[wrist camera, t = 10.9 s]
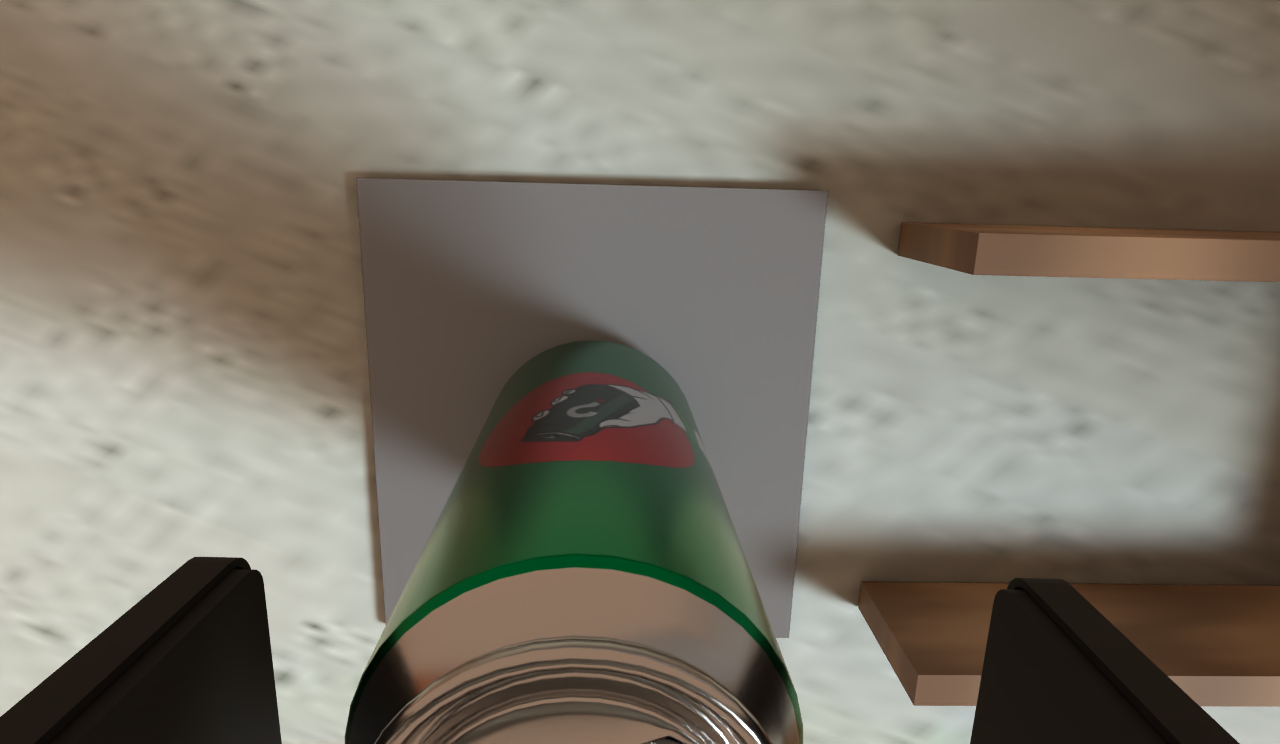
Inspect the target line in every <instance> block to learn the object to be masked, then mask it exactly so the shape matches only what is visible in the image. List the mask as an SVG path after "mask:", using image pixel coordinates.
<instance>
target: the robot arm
mask: <svg viewBox="0 0 1280 744" xmlns="http://www.w3.org/2000/svg"><path fill="white" fill-rule="evenodd" d="M0 744H282V743H281V734H280V725H279V716H278V707H277V698H276V689H275V680H274V671H273V662H272V653H271V644H270V636H269V627H268V618H267V609H266V600H265V591H264V582H263V578H262V575H261V573H260V572H259V571H257V570H251V568H250V565H249V564H248V562H247V561H246V560H245V559H243V558H226V557H194V558H192V559H190V560H189V561H187V562H186V563H185V564H184V565H182V566H181V567H180V568H179V569H178V570H176V571H175V572H174V573H173V574H172V575H170V576H169V577H168V578H167V579H166V580H164V581H163V582H162V583H161V584H160V585H158V586H157V587H156V588H155V589H154V590H152V591H151V592H150V593H149V594H148V595H146V596H145V597H144V598H143V599H142V600H140V601H139V602H138V603H137V604H136V605H134V606H133V607H132V608H131V609H130V610H128V611H127V612H126V613H125V614H124V615H122V616H121V617H120V618H119V619H118V620H116V621H115V622H114V623H113V624H112V625H110V626H109V627H108V628H107V629H106V630H104V631H103V632H102V633H101V634H100V635H98V636H97V637H96V638H95V639H93V640H92V641H91V642H90V643H89V644H87V645H86V646H85V647H84V648H83V649H81V650H80V651H79V652H78V653H77V654H75V655H74V656H73V657H72V658H71V659H69V660H68V661H67V662H66V663H65V664H63V665H62V666H61V667H60V668H59V669H57V670H56V671H55V672H54V673H53V674H51V675H50V676H49V677H48V678H47V679H45V680H44V681H43V682H42V683H41V684H39V685H38V686H37V687H36V688H35V689H33V690H32V691H31V692H30V693H29V694H27V695H26V696H25V697H24V698H23V699H21V700H20V701H19V702H18V703H17V704H15V705H14V706H13V707H12V708H11V709H9V710H8V711H7V712H6V713H5V714H3V715H2V716H1V717H0ZM970 744H1239V743H1238V742H1237V741H1236V740H1235V739H1234V738H1233V737H1232V736H1231V735H1230V734H1229V733H1228V732H1227V731H1225V730H1224V729H1223V728H1222V727H1221V726H1220V725H1219V724H1218V723H1217V722H1216V721H1215V720H1214V719H1213V718H1212V717H1211V716H1210V715H1208V714H1207V713H1206V712H1205V711H1204V710H1203V709H1202V708H1201V707H1200V706H1199V705H1198V704H1197V703H1196V702H1195V701H1194V700H1193V699H1191V698H1190V697H1189V696H1188V695H1187V694H1186V693H1185V692H1184V691H1183V690H1182V689H1181V688H1180V687H1179V686H1178V685H1177V684H1176V683H1174V682H1173V681H1172V680H1171V679H1170V678H1169V677H1168V676H1167V675H1166V674H1165V673H1164V672H1163V671H1162V670H1161V669H1160V668H1158V667H1157V666H1156V665H1155V664H1154V663H1153V662H1152V661H1151V660H1150V659H1149V658H1148V657H1147V656H1146V655H1145V654H1144V653H1143V652H1141V651H1140V650H1139V649H1138V648H1137V647H1136V646H1135V645H1134V644H1133V643H1132V642H1131V641H1130V640H1129V639H1128V638H1127V637H1126V636H1124V635H1123V634H1122V633H1121V632H1120V631H1119V630H1118V629H1117V628H1116V627H1115V626H1114V625H1113V624H1112V623H1111V622H1110V621H1109V620H1107V619H1106V618H1105V617H1104V616H1103V615H1102V614H1101V613H1100V612H1099V611H1098V610H1097V609H1096V608H1095V607H1094V606H1093V605H1091V604H1090V603H1089V602H1088V601H1087V600H1086V599H1085V598H1084V597H1083V596H1082V595H1081V594H1080V593H1079V592H1078V591H1077V590H1076V589H1074V588H1073V587H1072V586H1071V585H1070V584H1069V583H1068V582H1066V581H1064V580H1061V579H1033V578H1015V579H1013V580H1012V581H1011V582H1010V584H1009V585H1008V587H1007V589H1001V590H999V591H998V592H997V593H996V595H995V598H994V602H993V608H992V614H991V620H990V626H989V632H988V638H987V644H986V651H985V657H984V663H983V669H982V675H981V681H980V687H979V693H978V699H977V705H976V711H975V718H974V724H973V730H972V736H971V742H970Z"/></svg>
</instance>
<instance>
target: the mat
mask: <svg viewBox="0 0 1280 744" xmlns="http://www.w3.org/2000/svg"><path fill="white" fill-rule="evenodd" d="M356 181H357V196H358V211H359V227H360V242H361V257H362V272H363V287H364V302H365V318H366V333H367V348H368V363H369V378H370V393H371V408H372V424H373V439H374V454H375V469H376V484H377V499H378V515H379V530H380V545H381V560H382V575H383V590H384V605H385V621H386V625H387V623H388V621H389V619H390V617H391V615H392V613H393V610H394V608H395V606H396V604H397V602H398V600H399V598H400V596H401V594H402V592H403V590H404V588H405V586H406V584H407V582H408V580H409V578H410V576H411V574H412V571H413V569H414V567H415V565H416V563H417V561H418V559H419V557H420V555H421V553H422V551H423V549H424V547H425V545H426V543H427V541H428V539H429V537H430V535H431V532H432V530H433V528H434V526H435V524H436V522H437V520H438V518H439V516H440V514H441V512H442V510H443V508H444V506H445V504H446V502H447V500H448V498H449V496H450V493H451V491H452V489H453V487H454V485H455V483H456V481H457V479H458V477H459V475H460V473H461V471H462V469H463V467H464V465H465V463H466V461H467V459H468V457H469V455H470V452H471V450H472V448H473V446H474V444H475V442H476V440H477V438H478V436H479V434H480V432H481V430H482V428H483V426H484V424H485V422H486V420H487V418H488V416H489V413H490V411H491V409H492V407H493V405H494V403H495V401H496V399H497V397H498V395H499V394H500V392H501V390H502V389H503V387H504V385H505V384H506V382H507V381H508V380H509V379H510V378H511V376H512V375H513V374H514V373H515V372H516V371H517V370H518V369H519V368H520V367H521V366H523V365H524V364H525V363H526V362H527V361H528V360H530V359H532V358H533V357H535V356H537V355H538V354H540V353H542V352H543V351H546V350H548V349H551V348H553V347H556V346H558V345H562V344H566V343H570V342H575V341H587V340H596V341H608V342H613V343H617V344H621V345H625V346H628V347H630V348H633V349H635V350H637V351H640V352H642V353H643V354H645V355H647V356H648V357H650V358H652V359H653V360H655V361H656V362H657V363H658V364H659V365H661V366H662V367H663V368H664V369H665V370H666V371H667V372H668V373H669V374H670V375H671V376H672V377H673V379H674V380H675V381H676V382H677V384H678V385H679V387H680V389H681V390H682V392H683V393H684V395H685V397H686V400H687V402H688V405H689V407H690V410H691V412H692V415H693V418H694V420H695V423H696V426H697V428H698V431H699V434H700V436H701V439H702V442H703V444H704V447H705V450H706V452H707V455H708V458H709V460H710V463H711V466H712V469H713V471H714V474H715V477H716V479H717V482H718V485H719V487H720V490H721V493H722V495H723V498H724V501H725V503H726V506H727V509H728V511H729V514H730V517H731V519H732V522H733V525H734V528H735V530H736V533H737V536H738V538H739V541H740V544H741V546H742V549H743V552H744V554H745V557H746V560H747V562H748V565H749V568H750V570H751V573H752V576H753V578H754V581H755V584H756V587H757V589H758V592H759V595H760V597H761V600H762V603H763V605H764V608H765V611H766V613H767V616H768V619H769V621H770V624H771V627H772V629H773V632H774V635H775V637H776V638H789V631H790V620H791V608H792V597H793V585H794V574H795V562H796V551H797V539H798V528H799V516H800V505H801V493H802V482H803V471H804V459H805V448H806V436H807V425H808V413H809V402H810V390H811V379H812V367H813V356H814V344H815V333H816V321H817V310H818V299H819V287H820V276H821V264H822V253H823V241H824V230H825V218H826V207H827V195H828V191H814V190H778V189H742V188H705V187H669V186H633V185H597V184H560V183H524V182H488V181H452V180H416V179H379V178H356Z"/></svg>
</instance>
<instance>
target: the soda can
mask: <svg viewBox="0 0 1280 744" xmlns="http://www.w3.org/2000/svg"><path fill="white" fill-rule="evenodd" d="M345 744H803V723H802V718H801V713H800V708H799V703H798V698H797V694H796V691H795V688H794V686H793V683H792V680H791V678H790V675H789V672H788V670H787V667H786V664H785V662H784V659H783V656H782V654H781V651H780V648H779V646H778V643H777V640H776V637H775V635H774V632H773V629H772V627H771V624H770V621H769V619H768V616H767V613H766V611H765V608H764V605H763V603H762V600H761V597H760V595H759V592H758V589H757V587H756V584H755V581H754V578H753V576H752V573H751V570H750V568H749V565H748V562H747V560H746V557H745V554H744V552H743V549H742V546H741V544H740V541H739V538H738V536H737V533H736V530H735V528H734V525H733V522H732V519H731V517H730V514H729V511H728V509H727V506H726V503H725V501H724V498H723V495H722V493H721V490H720V487H719V485H718V482H717V479H716V477H715V474H714V471H713V469H712V466H711V463H710V460H709V458H708V455H707V452H706V450H705V447H704V444H703V442H702V439H701V436H700V434H699V431H698V428H697V426H696V423H695V420H694V418H693V415H692V412H691V410H690V407H689V405H688V402H687V400H686V397H685V395H684V393H683V392H682V390H681V389H680V387H679V385H678V384H677V382H676V381H675V380H674V379H673V377H672V376H671V375H670V374H669V373H668V372H667V371H666V370H665V369H664V368H663V367H662V366H661V365H659V364H658V363H657V362H656V361H655V360H653V359H652V358H650V357H648V356H647V355H645V354H643V353H642V352H640V351H637V350H635V349H633V348H630V347H628V346H625V345H621V344H617V343H613V342H608V341H596V340H587V341H575V342H570V343H566V344H562V345H558V346H556V347H553V348H551V349H548V350H546V351H543V352H542V353H540V354H538V355H537V356H535V357H533V358H532V359H530V360H528V361H527V362H526V363H525V364H524V365H523V366H521V367H520V368H519V369H518V370H517V371H516V372H515V373H514V374H513V375H512V376H511V378H510V379H509V380H508V381H507V382H506V384H505V385H504V387H503V389H502V390H501V392H500V394H499V395H498V397H497V399H496V401H495V403H494V405H493V407H492V409H491V411H490V413H489V416H488V418H487V420H486V422H485V424H484V426H483V428H482V430H481V432H480V434H479V436H478V438H477V440H476V442H475V444H474V446H473V448H472V450H471V452H470V455H469V457H468V459H467V461H466V463H465V465H464V467H463V469H462V471H461V473H460V475H459V477H458V479H457V481H456V483H455V485H454V487H453V489H452V491H451V493H450V496H449V498H448V500H447V502H446V504H445V506H444V508H443V510H442V512H441V514H440V516H439V518H438V520H437V522H436V524H435V526H434V528H433V530H432V532H431V535H430V537H429V539H428V541H427V543H426V545H425V547H424V549H423V551H422V553H421V555H420V557H419V559H418V561H417V563H416V565H415V567H414V569H413V571H412V574H411V576H410V578H409V580H408V582H407V584H406V586H405V588H404V590H403V592H402V594H401V596H400V598H399V600H398V602H397V604H396V606H395V608H394V610H393V613H392V615H391V617H390V619H389V621H388V623H387V625H386V627H385V629H384V631H383V633H382V635H381V637H380V639H379V641H378V643H377V645H376V647H375V649H374V651H373V654H372V656H371V658H370V660H369V662H368V664H367V666H366V668H365V670H364V672H363V674H362V677H361V679H360V682H359V684H358V687H357V690H356V692H355V695H354V697H353V700H352V702H351V705H350V711H349V716H348V722H347V727H346V733H345Z"/></svg>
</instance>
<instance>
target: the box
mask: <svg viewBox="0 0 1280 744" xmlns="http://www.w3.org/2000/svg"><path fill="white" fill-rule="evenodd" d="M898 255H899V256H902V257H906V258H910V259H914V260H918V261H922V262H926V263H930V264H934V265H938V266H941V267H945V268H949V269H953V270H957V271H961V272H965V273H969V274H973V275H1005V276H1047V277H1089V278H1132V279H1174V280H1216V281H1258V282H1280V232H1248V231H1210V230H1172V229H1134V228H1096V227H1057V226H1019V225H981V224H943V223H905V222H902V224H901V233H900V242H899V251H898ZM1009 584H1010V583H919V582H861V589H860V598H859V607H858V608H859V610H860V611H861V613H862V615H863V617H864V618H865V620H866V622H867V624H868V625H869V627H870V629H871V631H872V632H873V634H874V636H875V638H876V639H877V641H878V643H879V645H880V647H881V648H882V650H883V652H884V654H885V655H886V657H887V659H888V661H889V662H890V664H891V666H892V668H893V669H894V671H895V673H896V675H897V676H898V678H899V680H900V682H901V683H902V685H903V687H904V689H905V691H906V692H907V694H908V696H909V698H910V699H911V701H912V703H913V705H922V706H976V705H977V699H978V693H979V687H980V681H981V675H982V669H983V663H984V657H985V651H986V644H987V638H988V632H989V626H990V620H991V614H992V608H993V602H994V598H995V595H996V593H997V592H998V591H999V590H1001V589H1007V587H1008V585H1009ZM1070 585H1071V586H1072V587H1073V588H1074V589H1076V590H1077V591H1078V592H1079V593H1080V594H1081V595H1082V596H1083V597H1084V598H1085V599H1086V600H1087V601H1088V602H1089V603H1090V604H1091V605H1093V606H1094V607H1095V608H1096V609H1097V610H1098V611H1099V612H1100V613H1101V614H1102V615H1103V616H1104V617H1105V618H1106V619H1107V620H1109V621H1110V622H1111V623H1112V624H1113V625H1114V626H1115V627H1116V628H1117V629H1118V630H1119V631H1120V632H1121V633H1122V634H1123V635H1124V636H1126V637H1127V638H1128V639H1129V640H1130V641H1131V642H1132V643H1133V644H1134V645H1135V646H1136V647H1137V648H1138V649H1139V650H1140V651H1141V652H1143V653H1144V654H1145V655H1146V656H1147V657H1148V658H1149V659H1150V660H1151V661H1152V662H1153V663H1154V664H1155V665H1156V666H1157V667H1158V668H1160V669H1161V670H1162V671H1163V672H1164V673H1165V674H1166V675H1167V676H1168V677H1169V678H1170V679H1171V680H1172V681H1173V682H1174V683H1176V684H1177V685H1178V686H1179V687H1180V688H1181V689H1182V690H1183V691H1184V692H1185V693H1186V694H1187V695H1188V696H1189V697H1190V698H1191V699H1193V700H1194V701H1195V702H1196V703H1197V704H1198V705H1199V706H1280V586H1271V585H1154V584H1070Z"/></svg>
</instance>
